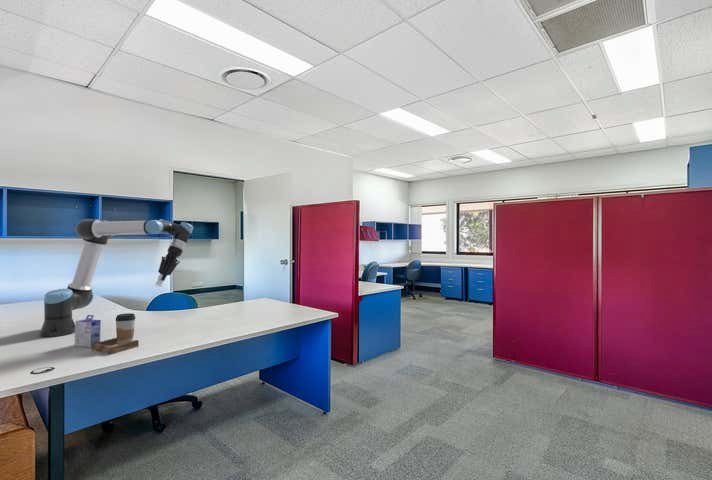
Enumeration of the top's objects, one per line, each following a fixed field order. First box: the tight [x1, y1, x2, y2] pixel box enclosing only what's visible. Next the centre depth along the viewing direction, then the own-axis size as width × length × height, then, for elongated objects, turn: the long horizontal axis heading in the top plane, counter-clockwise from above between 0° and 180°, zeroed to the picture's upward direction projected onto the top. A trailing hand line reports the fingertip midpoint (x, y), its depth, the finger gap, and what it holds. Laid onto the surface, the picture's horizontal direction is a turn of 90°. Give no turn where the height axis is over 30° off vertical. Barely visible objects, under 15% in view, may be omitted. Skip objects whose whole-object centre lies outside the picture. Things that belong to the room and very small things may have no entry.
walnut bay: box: [91, 337, 140, 355], centre depth 170 cm, size 14×13×3 cm
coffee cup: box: [115, 312, 136, 345], centre depth 175 cm, size 8×8×15 cm
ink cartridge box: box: [74, 314, 102, 348], centre depth 175 cm, size 10×6×14 cm, turn 78°
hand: (158, 285), depth 200 cm, fingers closed
